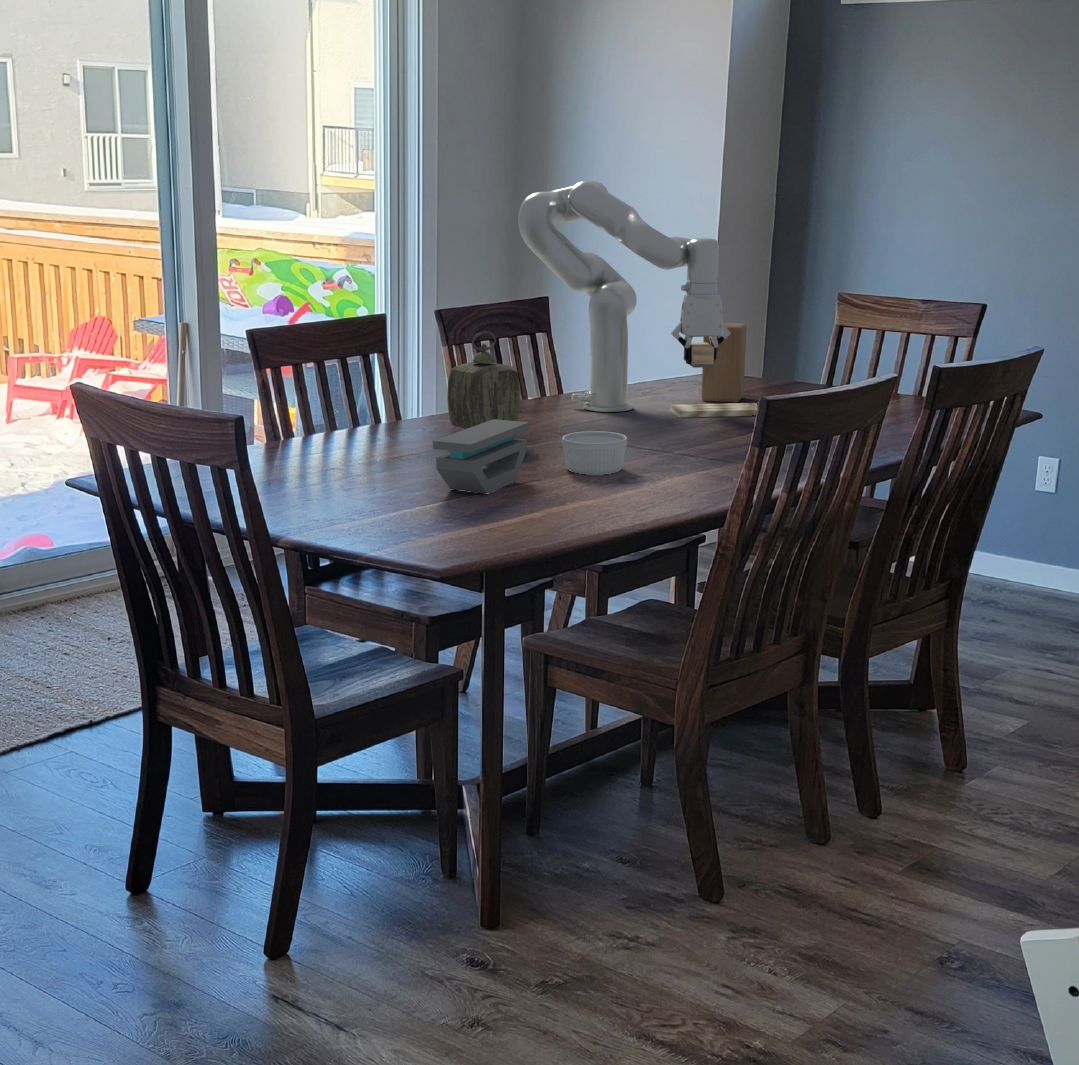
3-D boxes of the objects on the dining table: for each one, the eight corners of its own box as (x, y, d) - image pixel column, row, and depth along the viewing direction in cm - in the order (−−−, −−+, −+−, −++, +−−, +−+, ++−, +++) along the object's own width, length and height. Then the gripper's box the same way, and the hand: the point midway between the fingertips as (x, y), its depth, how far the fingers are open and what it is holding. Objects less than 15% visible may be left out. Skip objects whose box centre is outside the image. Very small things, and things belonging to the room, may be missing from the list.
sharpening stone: (494, 472, 276) (493, 419, 274) (529, 475, 273) (529, 422, 270) (434, 498, 254) (432, 440, 252) (471, 502, 251) (470, 444, 248)
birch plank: (679, 417, 338) (679, 411, 337) (669, 410, 347) (670, 404, 347) (773, 415, 341) (773, 409, 340) (761, 408, 350) (761, 402, 350)
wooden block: (700, 401, 361) (703, 325, 356) (707, 395, 370) (709, 321, 365) (738, 403, 358) (741, 327, 353) (744, 397, 367) (747, 323, 362)
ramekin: (572, 479, 271) (572, 444, 269) (553, 465, 283) (554, 432, 281) (635, 475, 274) (636, 441, 272) (614, 462, 286) (615, 429, 285)
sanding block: (713, 367, 336) (714, 347, 335) (693, 367, 335) (693, 347, 334) (706, 362, 344) (706, 342, 343) (686, 362, 344) (687, 342, 343)
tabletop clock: (496, 436, 313) (495, 327, 306) (523, 442, 306) (523, 330, 300) (448, 445, 303) (446, 332, 296) (475, 451, 297) (474, 336, 290)
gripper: (671, 291, 330) (669, 366, 335) (740, 290, 333) (737, 364, 337) (664, 289, 338) (663, 362, 342) (731, 288, 340) (729, 360, 345)
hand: (700, 362), depth 340 cm, fingers closed on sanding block, 5 cm apart
